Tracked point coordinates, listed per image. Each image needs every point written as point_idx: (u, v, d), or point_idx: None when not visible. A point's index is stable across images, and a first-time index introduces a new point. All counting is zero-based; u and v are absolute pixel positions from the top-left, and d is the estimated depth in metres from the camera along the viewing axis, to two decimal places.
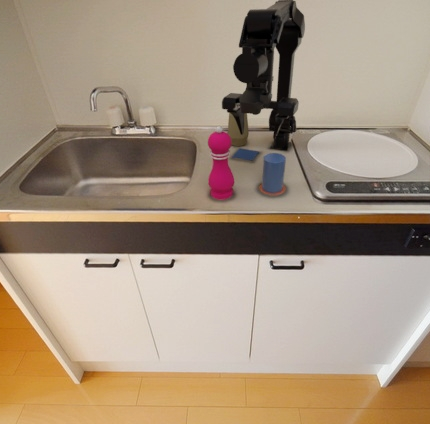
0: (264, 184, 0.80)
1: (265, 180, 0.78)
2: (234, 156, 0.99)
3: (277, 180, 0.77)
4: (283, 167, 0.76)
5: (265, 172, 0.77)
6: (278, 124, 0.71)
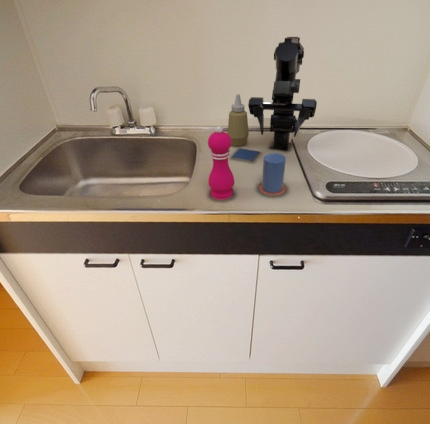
0: (264, 184, 0.80)
1: (265, 180, 0.78)
2: (234, 156, 0.99)
3: (277, 180, 0.77)
4: (283, 167, 0.76)
5: (265, 172, 0.77)
6: (300, 119, 0.78)
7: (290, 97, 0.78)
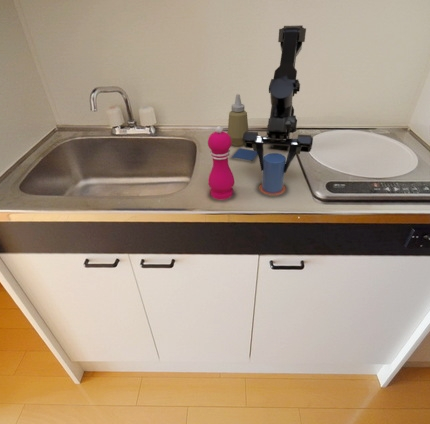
0: (264, 184, 0.80)
1: (266, 180, 0.78)
2: (234, 156, 0.99)
3: (277, 180, 0.77)
4: (283, 167, 0.76)
5: (265, 172, 0.77)
6: (291, 155, 0.76)
7: (285, 133, 0.75)
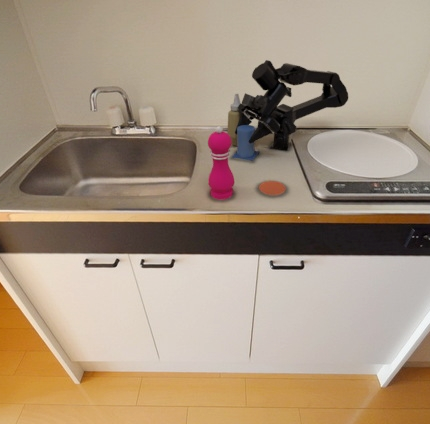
0: None
1: (237, 144, 0.98)
2: (234, 156, 0.99)
3: (241, 146, 0.96)
4: (246, 137, 0.93)
5: None
6: (257, 130, 0.90)
7: (258, 110, 0.90)
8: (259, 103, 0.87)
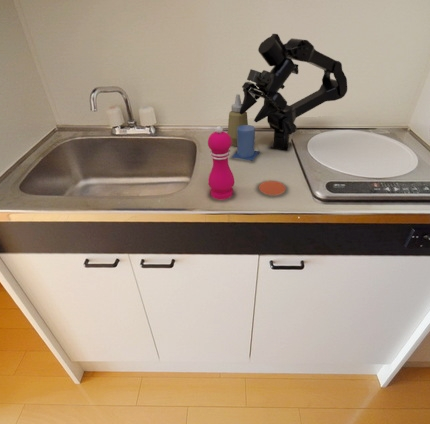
0: None
1: (237, 144, 0.98)
2: (234, 156, 0.99)
3: (241, 146, 0.96)
4: (246, 137, 0.93)
5: None
6: (263, 108, 0.87)
7: (264, 87, 0.87)
8: (265, 79, 0.83)
